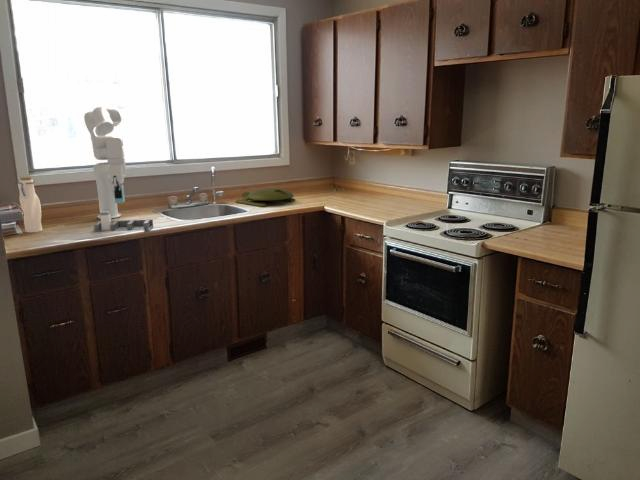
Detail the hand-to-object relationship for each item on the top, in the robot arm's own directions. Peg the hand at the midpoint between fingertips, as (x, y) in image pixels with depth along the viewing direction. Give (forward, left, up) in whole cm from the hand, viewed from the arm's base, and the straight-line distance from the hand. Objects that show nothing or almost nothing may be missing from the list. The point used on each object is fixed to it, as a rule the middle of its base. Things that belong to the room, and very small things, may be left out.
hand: (119, 197), depth 260 cm
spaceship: (-68, +78, -18) cm, 105 cm away
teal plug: (0, 0, -2) cm, 2 cm away
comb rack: (0, 0, -17) cm, 17 cm away
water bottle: (-7, -46, -17) cm, 50 cm away
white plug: (0, -8, -16) cm, 18 cm away
